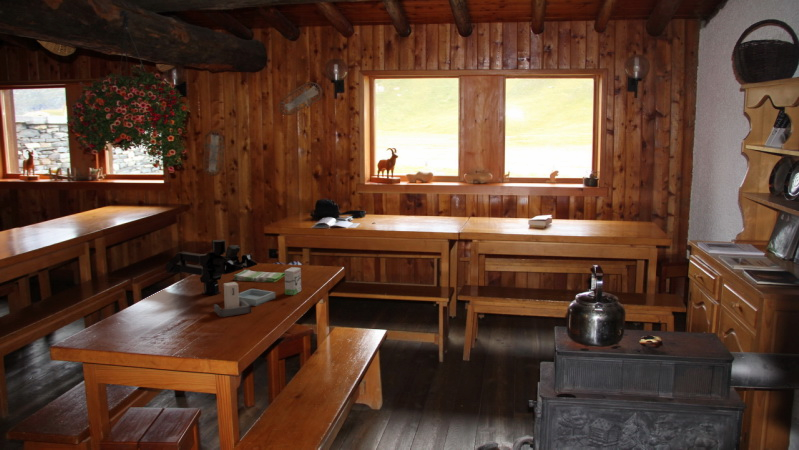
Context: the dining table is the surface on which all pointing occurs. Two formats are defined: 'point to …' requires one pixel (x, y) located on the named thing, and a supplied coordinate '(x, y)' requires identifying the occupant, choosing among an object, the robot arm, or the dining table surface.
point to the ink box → (292, 281)
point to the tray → (256, 296)
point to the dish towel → (258, 276)
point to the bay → (233, 310)
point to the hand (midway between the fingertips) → (250, 265)
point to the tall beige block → (231, 295)
